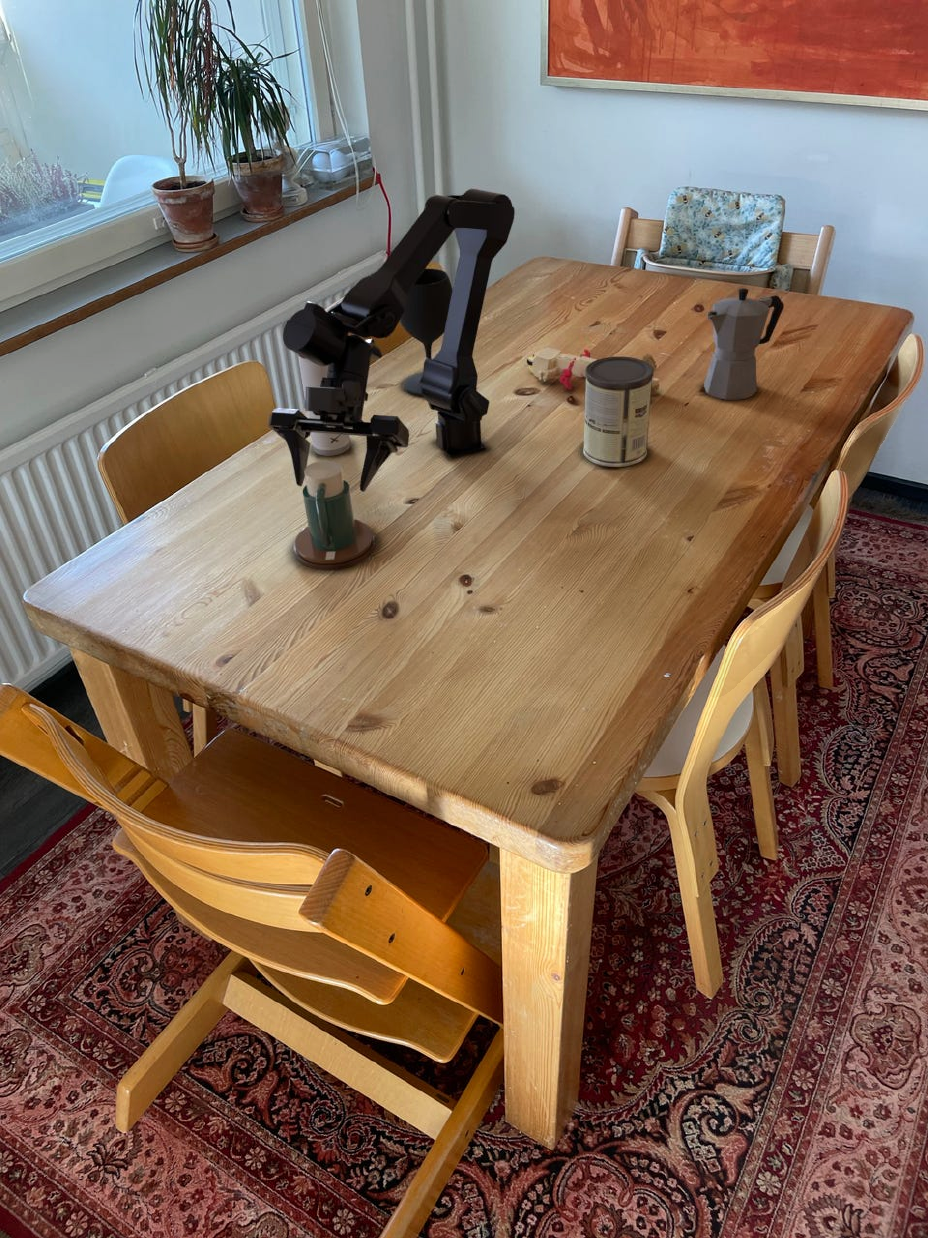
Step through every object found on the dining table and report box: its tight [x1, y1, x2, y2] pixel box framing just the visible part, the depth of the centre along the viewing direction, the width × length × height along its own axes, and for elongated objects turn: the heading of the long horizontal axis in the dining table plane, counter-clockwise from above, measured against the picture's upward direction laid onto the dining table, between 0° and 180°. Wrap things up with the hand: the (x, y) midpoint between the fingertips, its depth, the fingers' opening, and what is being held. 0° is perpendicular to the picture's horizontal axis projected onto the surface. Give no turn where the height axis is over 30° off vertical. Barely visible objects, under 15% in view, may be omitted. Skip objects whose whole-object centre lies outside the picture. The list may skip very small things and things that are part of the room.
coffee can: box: [582, 356, 655, 468], centre depth 147 cm, size 10×10×14 cm
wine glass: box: [399, 268, 453, 397], centre depth 169 cm, size 10×10×20 cm
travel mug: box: [297, 354, 351, 457], centre depth 151 cm, size 6×7×20 cm
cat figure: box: [524, 346, 660, 396], centre depth 169 cm, size 10×9×25 cm
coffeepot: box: [703, 287, 785, 401], centre depth 162 cm, size 15×9×18 cm, turn 113°
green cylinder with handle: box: [294, 460, 373, 564], centre depth 129 cm, size 12×11×12 cm
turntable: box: [292, 531, 377, 571], centre depth 133 cm, size 12×12×1 cm
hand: (330, 488), depth 129 cm, fingers open, 9 cm apart
